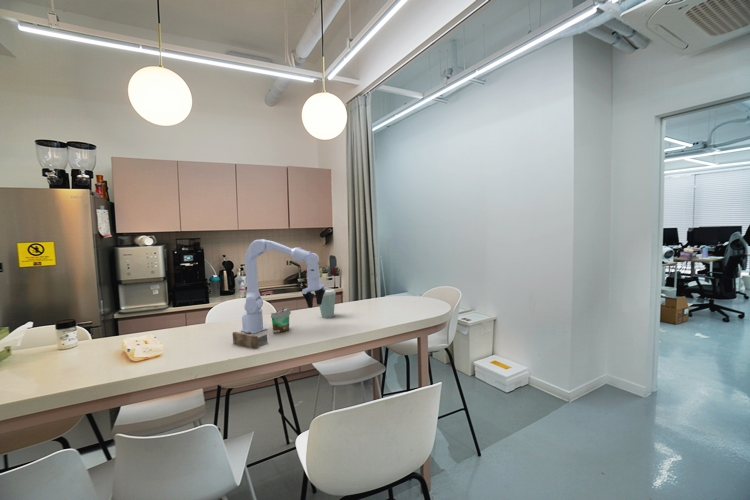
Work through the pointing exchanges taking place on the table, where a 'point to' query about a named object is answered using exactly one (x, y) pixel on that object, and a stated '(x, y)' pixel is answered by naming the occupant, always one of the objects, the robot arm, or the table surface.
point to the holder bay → (249, 340)
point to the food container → (280, 321)
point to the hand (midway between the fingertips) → (314, 305)
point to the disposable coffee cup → (328, 303)
